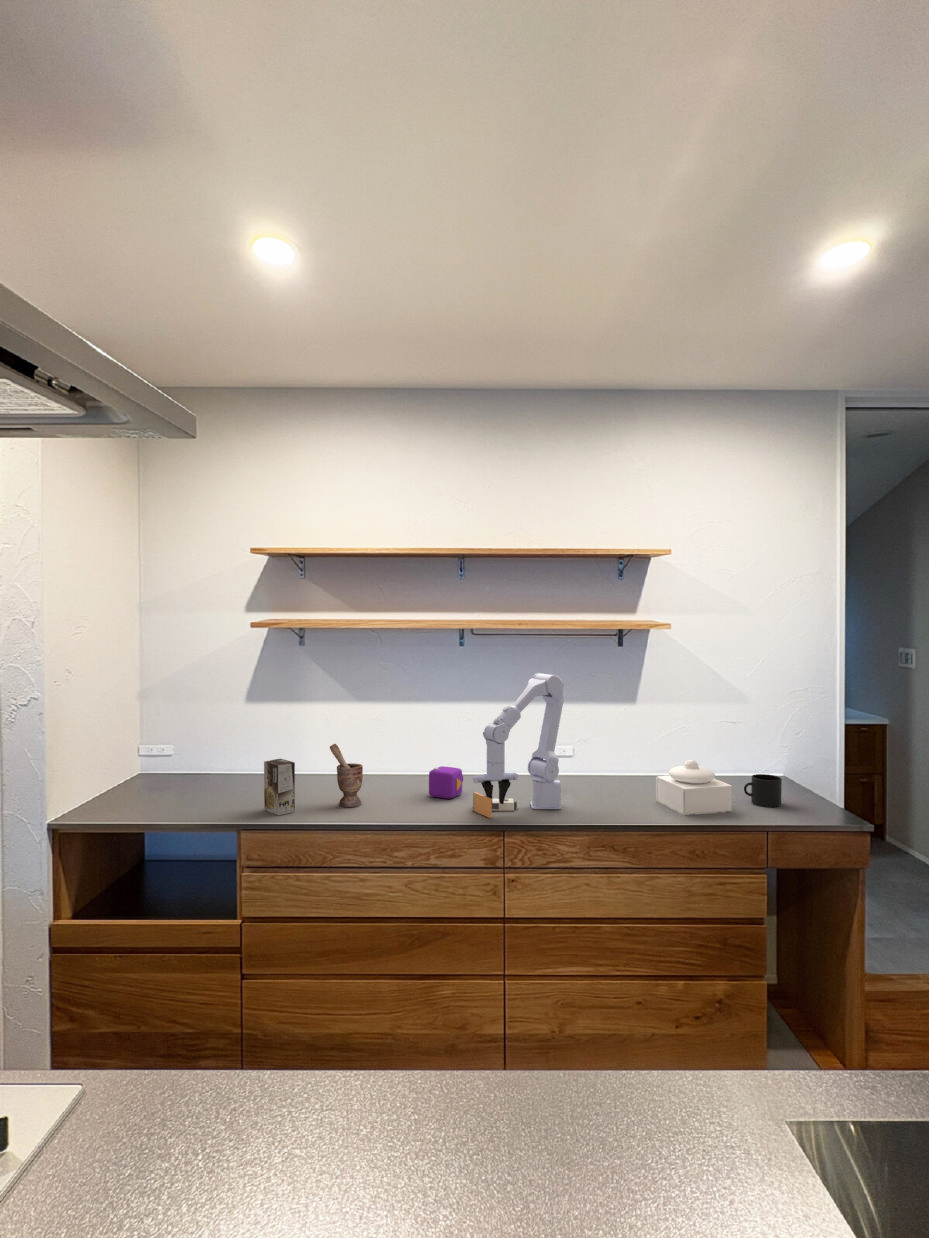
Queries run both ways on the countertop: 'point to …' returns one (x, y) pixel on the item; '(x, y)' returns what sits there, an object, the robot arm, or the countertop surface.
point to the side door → (482, 804)
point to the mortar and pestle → (348, 779)
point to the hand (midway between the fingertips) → (495, 803)
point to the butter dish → (693, 790)
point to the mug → (765, 790)
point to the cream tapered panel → (504, 805)
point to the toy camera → (445, 782)
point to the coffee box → (279, 786)
